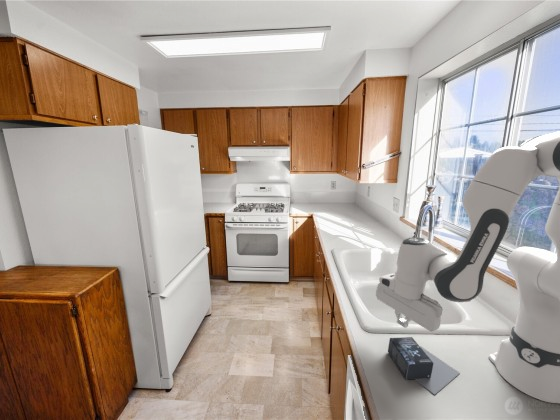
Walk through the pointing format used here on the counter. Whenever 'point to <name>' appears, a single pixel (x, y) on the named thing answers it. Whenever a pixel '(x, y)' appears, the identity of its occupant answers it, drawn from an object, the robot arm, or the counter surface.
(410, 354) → the box
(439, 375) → the mat
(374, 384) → the counter surface
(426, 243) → the robot arm
